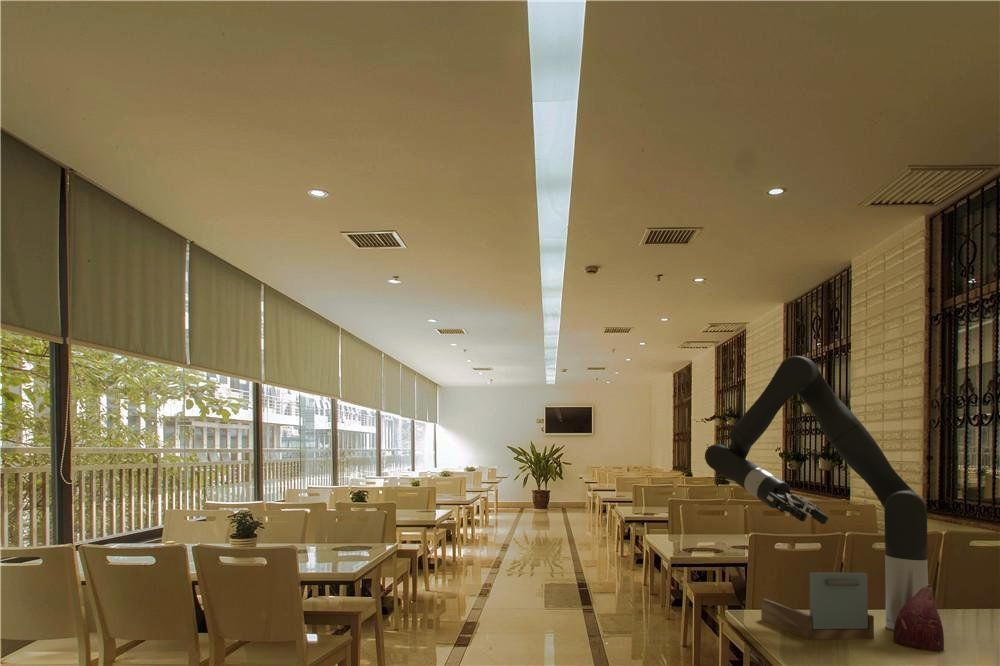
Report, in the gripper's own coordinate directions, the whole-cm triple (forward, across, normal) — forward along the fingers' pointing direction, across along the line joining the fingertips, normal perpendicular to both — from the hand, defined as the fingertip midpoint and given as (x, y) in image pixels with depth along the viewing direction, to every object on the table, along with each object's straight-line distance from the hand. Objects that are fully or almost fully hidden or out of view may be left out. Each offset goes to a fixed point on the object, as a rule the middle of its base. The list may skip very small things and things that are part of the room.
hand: (815, 519), depth 192 cm
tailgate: (+19, -3, +18) cm, 26 cm away
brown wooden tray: (+12, 0, +23) cm, 25 cm away
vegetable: (+29, +10, +14) cm, 34 cm away
